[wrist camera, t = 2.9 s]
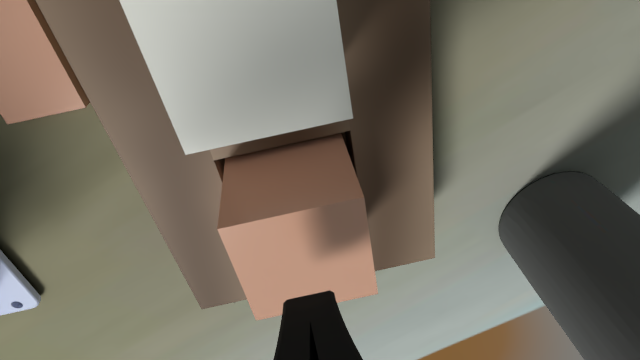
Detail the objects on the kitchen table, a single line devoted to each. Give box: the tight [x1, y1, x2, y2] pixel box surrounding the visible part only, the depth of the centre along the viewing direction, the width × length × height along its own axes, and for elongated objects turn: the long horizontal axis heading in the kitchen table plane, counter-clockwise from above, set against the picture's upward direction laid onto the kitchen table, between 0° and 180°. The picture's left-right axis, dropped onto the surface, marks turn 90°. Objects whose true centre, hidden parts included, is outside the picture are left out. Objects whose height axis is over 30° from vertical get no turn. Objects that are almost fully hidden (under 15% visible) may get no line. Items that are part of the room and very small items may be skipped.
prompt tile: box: [0, 0, 90, 124], centre depth 14 cm, size 3×5×1 cm, turn 10°
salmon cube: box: [217, 133, 378, 320], centre depth 15 cm, size 4×4×4 cm
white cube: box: [119, 0, 353, 155], centre depth 11 cm, size 4×4×4 cm
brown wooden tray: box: [36, 0, 435, 309], centre depth 13 cm, size 11×24×3 cm, turn 10°
